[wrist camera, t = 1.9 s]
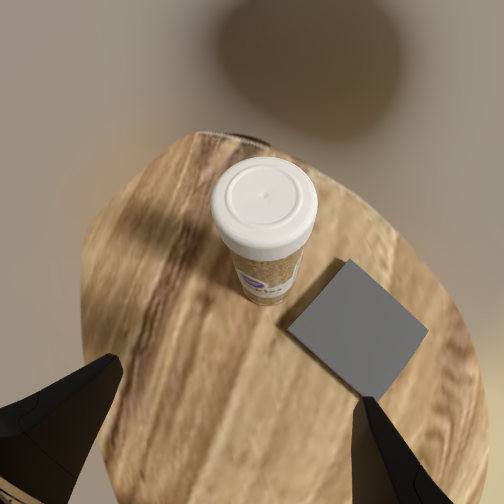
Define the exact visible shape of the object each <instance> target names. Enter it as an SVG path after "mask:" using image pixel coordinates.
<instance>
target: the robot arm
mask: <svg viewBox="0 0 504 504" xmlns="http://www.w3.org/2000/svg"><path fill="white" fill-rule="evenodd" d="M122 376H123V368H122V365H121V362H120V360H119V357H118V356H116V355H114V354H111V353H108V354H106V355H104V356H102V357H100V358H98V359H97V360H95V361H93V362H91V363H89V364H88V365H86V366H84V367H82V368H80V369H79V370H77V371H75V372H73V373H71V374H70V375H68V376H66V377H64V378H62V379H60V380H59V381H57V382H55V383H53V384H51V385H50V386H47V387H46V388H44V389H42V390H41V391H38V392H36V393H35V394H32V395H30V396H28V397H26V398H24V399H22V400H20V401H17V402H15V403H12V404H10V405H7V406H5V407H2V408H0V504H43V503H44V504H68V501H69V499H70V496H71V494H72V491H73V488H74V486H75V484H76V482H77V479H78V476H79V474H80V472H81V470H82V467H83V465H84V463H85V460H86V458H87V456H88V454H89V451H90V449H91V447H92V445H93V443H94V440H95V439H96V436H97V434H98V432H99V430H100V428H101V426H102V424H103V422H104V420H105V418H106V416H107V413H108V411H109V409H110V407H111V405H112V403H113V400H114V397H115V394H116V392H117V389H118V386H119V384H120V381H121V378H122ZM351 460H352V504H454V503H453V502H452V501H451V500H450V499H449V498H448V497H447V496H446V495H445V494H444V493H443V491H442V490H441V489H440V488H439V487H438V486H437V485H436V483H435V482H434V481H433V480H432V479H431V477H430V476H429V475H428V473H427V472H426V470H425V469H424V468H423V466H422V465H420V462H419V461H418V459H417V458H416V456H415V455H414V453H413V452H412V451H411V449H410V448H409V446H408V445H407V444H406V442H405V441H404V439H403V438H402V436H401V435H400V434H399V432H398V431H397V429H396V428H395V427H394V425H393V424H392V422H391V421H390V420H389V418H388V417H387V415H386V414H385V413H384V411H383V410H382V408H381V407H380V406H379V404H378V403H377V401H376V400H375V399H374V397H372V396H362V397H361V398H360V400H359V401H358V403H357V405H356V407H355V408H354V411H353V427H352V443H351Z"/></svg>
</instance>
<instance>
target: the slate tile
mask: <svg viewBox="0 0 504 504" xmlns="http://www.w3.org/2000/svg"><path fill="white" fill-rule="evenodd" d="M287 331H288V332H290V333H291V334H292V335H293V336H294V337H295V338H296V339H297V340H298V341H299V342H301V343H302V344H303V345H304V346H305V347H306V348H307V349H308V350H309V351H311V352H312V353H313V354H314V355H315V356H316V357H317V358H318V359H320V360H321V361H322V362H323V363H324V364H325V365H326V366H327V367H329V368H330V369H331V370H332V371H333V372H334V373H335V374H337V375H338V376H339V377H340V378H341V379H342V380H344V381H345V382H346V383H347V384H348V385H349V386H350V387H352V388H353V389H354V390H355V391H356V392H357V393H359V394H360V395H361V396H372V397H374V399H375V400H376V401H377V402H378V401H379V399H380V398H381V397H382V396H383V394H384V393H385V392H386V391H387V390H388V388H389V387H390V386H391V384H392V383H393V382H394V381H395V379H396V378H397V377H398V375H399V374H400V373H401V371H402V370H403V368H404V367H405V366H406V364H407V363H408V361H409V360H410V359H411V357H412V356H413V354H414V353H415V351H416V350H417V348H418V347H419V345H420V344H421V342H422V341H423V339H424V337H425V336H426V334H427V333H428V330H427V329H426V328H425V327H424V326H423V325H422V324H421V323H420V322H419V321H418V320H417V319H416V318H415V317H414V316H413V315H412V314H411V313H410V312H408V311H407V310H406V309H405V308H404V307H403V306H402V305H401V304H400V303H399V302H398V301H397V300H396V299H395V298H393V297H392V296H391V295H390V294H389V293H388V292H387V291H386V290H385V289H384V288H383V287H381V286H380V285H379V284H378V283H377V282H376V281H375V280H374V279H372V278H371V277H370V276H369V275H368V274H367V273H366V272H365V271H363V270H362V269H361V268H360V267H359V266H358V265H357V264H355V263H354V262H353V261H352V260H351V259H349V260H348V261H347V262H346V264H345V265H344V266H343V267H342V268H341V270H340V271H339V272H338V273H337V274H336V275H335V277H334V278H333V279H332V280H331V281H330V282H329V284H328V285H327V286H326V287H325V288H324V289H323V291H322V292H321V293H320V294H319V295H318V296H317V297H316V298H315V300H314V301H313V302H312V303H311V304H310V305H309V306H308V307H307V308H306V310H305V311H304V312H303V313H302V314H301V315H300V316H299V317H298V318H297V319H296V320H295V321H294V322H293V324H292V325H291V326H290V327H289V328H288V329H287Z"/></svg>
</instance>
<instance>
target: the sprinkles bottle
mask: <svg viewBox="0 0 504 504" xmlns="http://www.w3.org/2000/svg"><path fill="white" fill-rule="evenodd" d="M317 204H318V202H317V194H316V190H315V188H314V185H313V183H312V181H311V180H310V178H309V177H308V176H307V175H306V174H305V173H304V172H303V171H302V170H301V169H300V168H299V167H297V166H296V165H294V164H292V163H290V162H288V161H286V160H283V159H280V158H275V157H255V158H250V159H246V160H243V161H241V162H238V163H237V164H235V165H233V166H232V167H230V168H229V169H227V170H226V171H225V172H224V173H223V174H222V175H221V176H220V178H219V179H218V181H217V182H216V184H215V186H214V188H213V191H212V195H211V213H212V216H213V220H214V223H215V225H216V228H217V231H218V233H219V235H220V237H221V239H222V240H223V242H224V243H225V244H226V245H227V247H228V248H229V251H230V253H231V256H232V259H233V263H234V266H235V269H236V272H237V274H238V277H239V279H240V281H241V283H242V289H243V291H244V293H245V294H246V296H247V297H248V298H249V299H250V300H251V301H252V302H254V303H256V304H258V305H262V306H273V305H277V304H279V303H281V302H283V301H284V300H285V299H286V298H287V297H288V296H289V295H290V293H291V291H292V290H293V286H294V280H295V278H296V274H297V271H298V267H299V264H300V261H301V257H302V253H303V249H304V243H305V242H306V241H307V239H308V238H309V236H310V234H311V231H312V228H313V225H314V221H315V217H316V213H317Z"/></svg>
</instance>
